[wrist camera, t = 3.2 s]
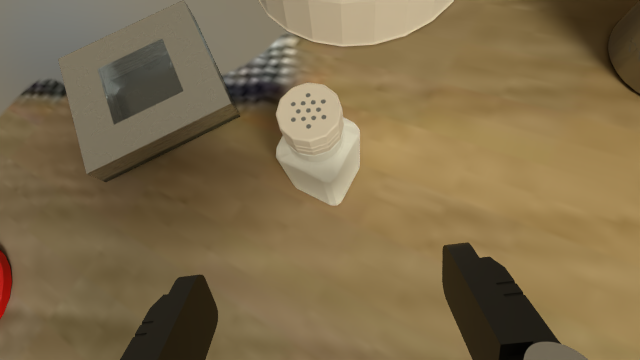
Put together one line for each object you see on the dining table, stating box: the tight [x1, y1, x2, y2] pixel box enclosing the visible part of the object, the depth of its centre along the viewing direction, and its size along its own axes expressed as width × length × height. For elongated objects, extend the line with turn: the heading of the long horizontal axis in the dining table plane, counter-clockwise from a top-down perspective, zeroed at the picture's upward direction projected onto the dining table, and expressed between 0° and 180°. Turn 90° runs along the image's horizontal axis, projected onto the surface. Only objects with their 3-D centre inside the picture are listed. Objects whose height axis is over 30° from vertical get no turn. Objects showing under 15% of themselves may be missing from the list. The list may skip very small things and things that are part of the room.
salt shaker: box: [276, 83, 360, 205], centre depth 20 cm, size 4×4×10 cm
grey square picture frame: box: [58, 0, 240, 182], centre depth 28 cm, size 12×12×2 cm
